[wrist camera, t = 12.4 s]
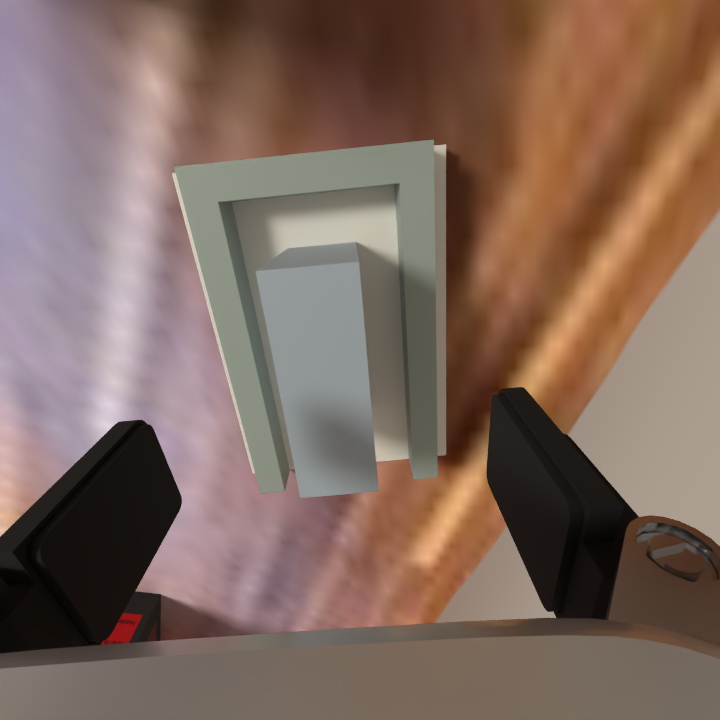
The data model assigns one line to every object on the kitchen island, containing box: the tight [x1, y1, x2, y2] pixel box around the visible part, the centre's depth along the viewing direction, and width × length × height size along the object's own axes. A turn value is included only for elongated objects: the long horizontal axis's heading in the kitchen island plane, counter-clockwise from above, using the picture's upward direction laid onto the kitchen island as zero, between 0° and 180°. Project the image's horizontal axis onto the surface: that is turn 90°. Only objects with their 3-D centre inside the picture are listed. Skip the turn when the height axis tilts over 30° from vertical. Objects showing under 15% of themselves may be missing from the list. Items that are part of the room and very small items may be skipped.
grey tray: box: [172, 140, 446, 494], centre depth 20 cm, size 13×18×3 cm
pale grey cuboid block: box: [256, 242, 379, 498], centre depth 17 cm, size 4×10×7 cm, turn 5°
